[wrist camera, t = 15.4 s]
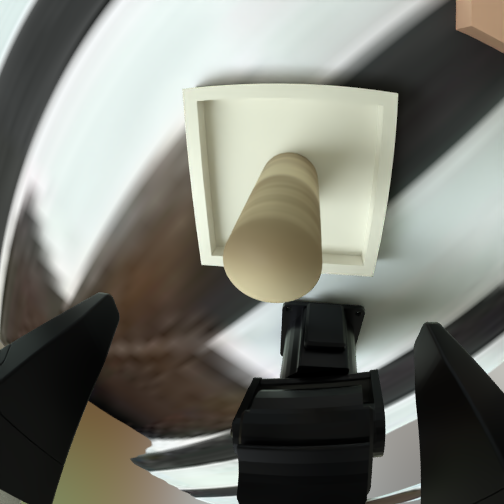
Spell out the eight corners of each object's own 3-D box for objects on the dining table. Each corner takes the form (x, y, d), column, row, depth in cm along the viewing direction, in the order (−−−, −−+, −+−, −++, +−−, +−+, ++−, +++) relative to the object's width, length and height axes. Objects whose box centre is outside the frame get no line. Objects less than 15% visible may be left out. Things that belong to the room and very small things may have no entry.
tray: (369, 261, 20) (373, 276, 19) (209, 250, 22) (201, 264, 21) (389, 92, 14) (398, 93, 13) (193, 87, 16) (182, 89, 15)
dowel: (316, 207, 18) (317, 306, 11) (262, 204, 19) (226, 298, 11) (319, 154, 17) (326, 222, 9) (260, 151, 17) (218, 216, 10)
